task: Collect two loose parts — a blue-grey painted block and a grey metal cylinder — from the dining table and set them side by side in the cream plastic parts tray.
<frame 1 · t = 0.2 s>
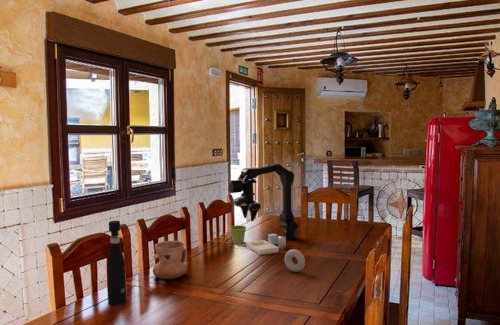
hand: (248, 219, 223), 14 cm above the table, tool pointing down, fingers open, 9 cm apart
donut: (294, 272, 179), on the table
black water bottle: (117, 302, 149), on the table
parts tray: (261, 249, 214), on the table
ceramic jug: (171, 276, 176), on the table
plant pot: (238, 242, 229), on the table
painted block: (272, 243, 226), on the table
metal cylinder: (281, 247, 217), on the table
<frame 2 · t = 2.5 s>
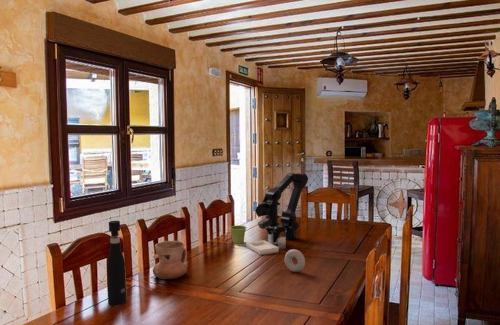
hand: (272, 241, 226), 1 cm above the table, tool pointing down, fingers closed on painted block, 4 cm apart
painted block: (272, 243, 226), on the table, touching gripper
everything else where it was.
when the fingers open (3 cm above the table, at t = 5.9 s): painted block drops 2 cm, resting on parts tray.
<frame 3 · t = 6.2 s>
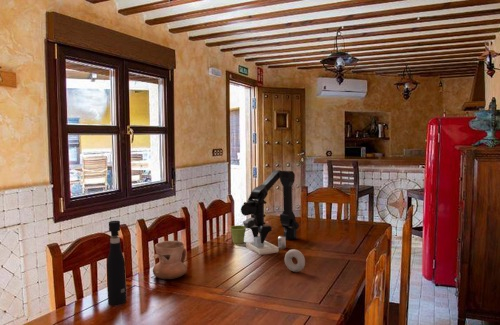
hand: (258, 241, 217), 3 cm above the table, tool pointing down, fingers open, 7 cm apart
painted block: (258, 246, 217), point 1 cm above the table, touching parts tray
everything else where it was.
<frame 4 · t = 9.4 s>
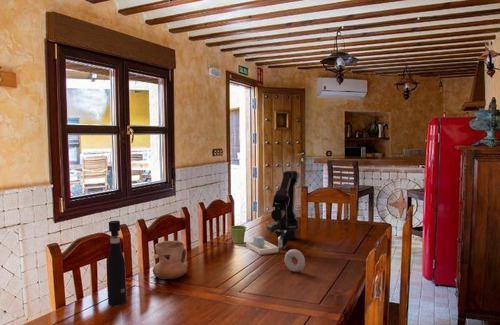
hand: (281, 245, 217), 1 cm above the table, tool pointing down, fingers closed on metal cylinder, 4 cm apart
metal cylinder: (281, 247, 217), on the table, touching gripper
everything else where it was.
when the fingers open (3 cm above the table, at t = 12.8 s): metal cylinder drops 1 cm, resting on parts tray.
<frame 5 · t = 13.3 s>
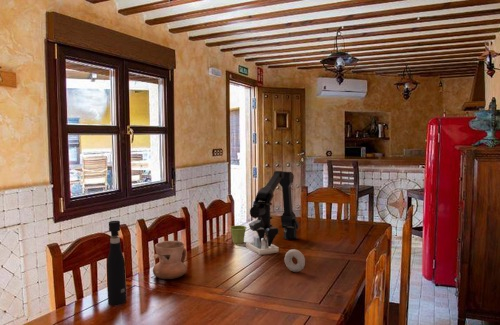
hand: (265, 244, 210), 4 cm above the table, tool pointing down, fingers open, 8 cm apart
painted block: (258, 246, 217), point 1 cm above the table, touching gripper, parts tray
metal cylinder: (265, 249, 211), point 1 cm above the table, touching parts tray
everything else where it was.
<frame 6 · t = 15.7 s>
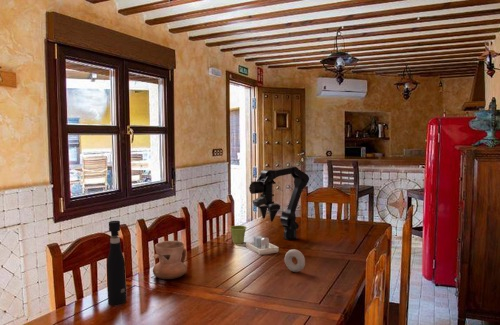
hand: (267, 220, 226), 13 cm above the table, tool pointing down, fingers open, 9 cm apart
painted block: (258, 246, 217), point 1 cm above the table, touching parts tray
everything else where it was.
at the end: painted block inside the target area on the parts tray (3.6 cm from its centre), point 0.8 cm above the parts tray's base; metal cylinder inside the target area on the parts tray (3.5 cm from its centre), point 0.8 cm above the parts tray's base; metal cylinder tilted 0° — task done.
